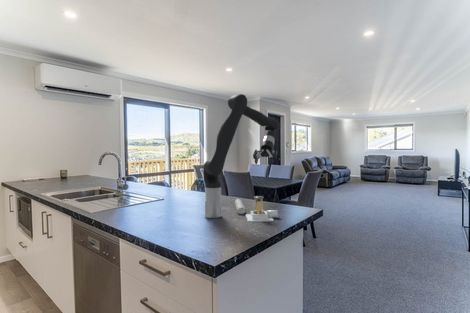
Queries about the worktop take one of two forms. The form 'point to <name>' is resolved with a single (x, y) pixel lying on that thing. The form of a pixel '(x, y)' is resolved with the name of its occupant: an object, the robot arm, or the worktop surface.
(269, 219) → the socket
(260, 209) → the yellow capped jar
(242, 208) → the tube
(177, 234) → the worktop surface
